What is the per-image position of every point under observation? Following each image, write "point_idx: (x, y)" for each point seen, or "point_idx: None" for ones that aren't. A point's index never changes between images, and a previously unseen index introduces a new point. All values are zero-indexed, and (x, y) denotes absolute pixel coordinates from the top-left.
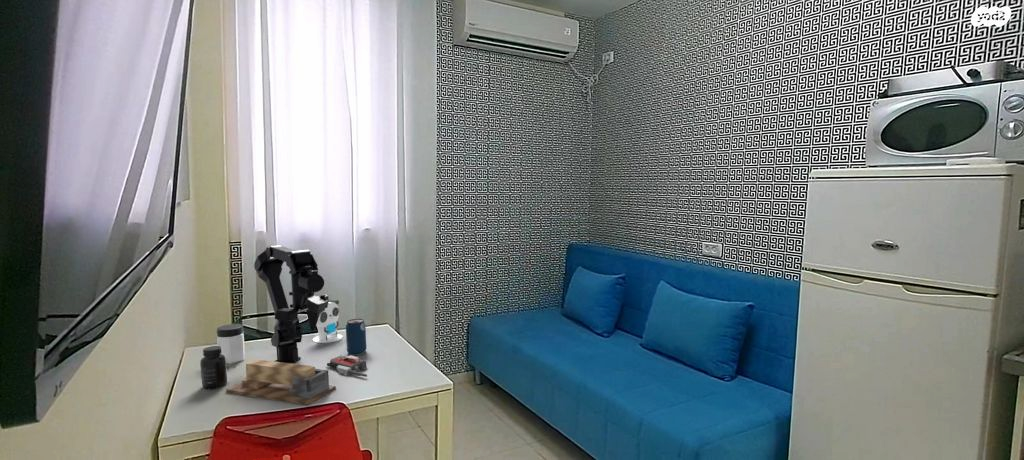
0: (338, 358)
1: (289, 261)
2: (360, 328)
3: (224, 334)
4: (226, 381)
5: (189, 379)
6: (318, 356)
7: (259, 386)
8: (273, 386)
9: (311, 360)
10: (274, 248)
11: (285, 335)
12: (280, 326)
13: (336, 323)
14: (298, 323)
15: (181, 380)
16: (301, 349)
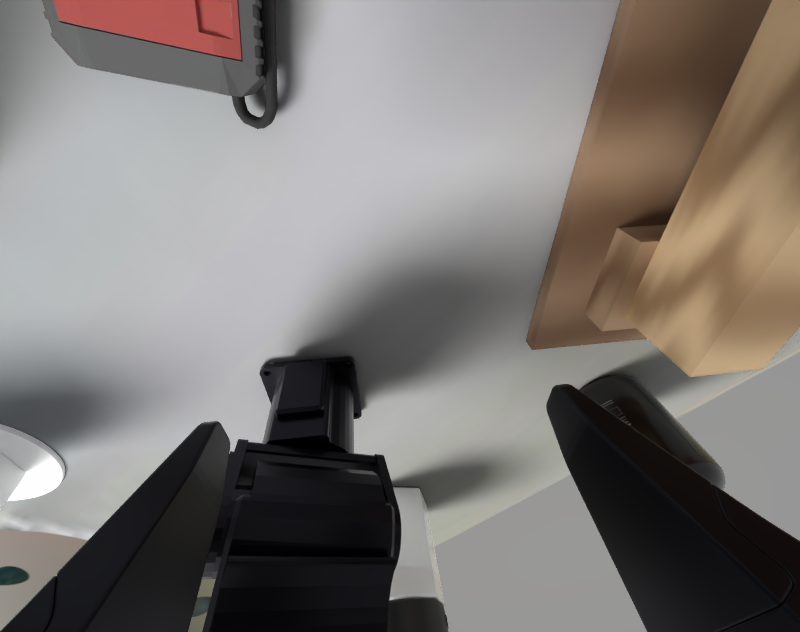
0: (167, 19)
1: None
2: None
3: (443, 615)
4: (603, 387)
5: (551, 471)
6: (174, 322)
7: None
8: (691, 168)
9: (243, 309)
10: None
11: (373, 507)
12: (383, 604)
13: None
14: (230, 600)
15: (559, 478)
16: (173, 441)
